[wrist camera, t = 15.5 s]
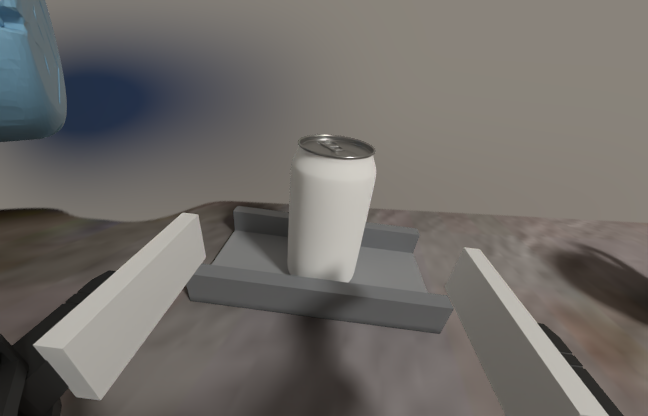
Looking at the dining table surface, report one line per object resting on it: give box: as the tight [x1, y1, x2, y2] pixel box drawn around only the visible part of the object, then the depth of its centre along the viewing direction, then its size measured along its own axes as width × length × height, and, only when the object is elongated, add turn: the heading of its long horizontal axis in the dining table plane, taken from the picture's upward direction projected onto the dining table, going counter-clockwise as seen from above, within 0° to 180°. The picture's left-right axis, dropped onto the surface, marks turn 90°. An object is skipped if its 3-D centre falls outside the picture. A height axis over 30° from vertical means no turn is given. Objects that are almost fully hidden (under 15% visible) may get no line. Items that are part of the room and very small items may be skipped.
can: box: [287, 135, 376, 283], centre depth 20 cm, size 6×6×12 cm
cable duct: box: [186, 206, 454, 334], centre depth 23 cm, size 20×10×3 cm, turn 86°
